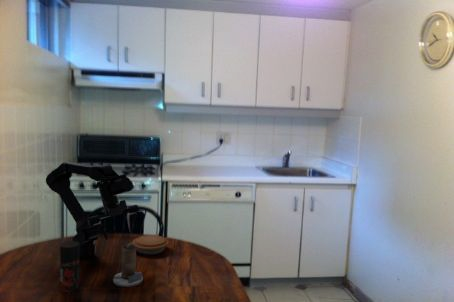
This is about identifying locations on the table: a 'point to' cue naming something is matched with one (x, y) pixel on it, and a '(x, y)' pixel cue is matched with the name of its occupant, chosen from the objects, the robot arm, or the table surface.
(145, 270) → the table surface
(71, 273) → the deodorant
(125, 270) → the brown cylinder
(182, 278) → the table surface
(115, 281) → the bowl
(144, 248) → the pie
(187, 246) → the table surface
